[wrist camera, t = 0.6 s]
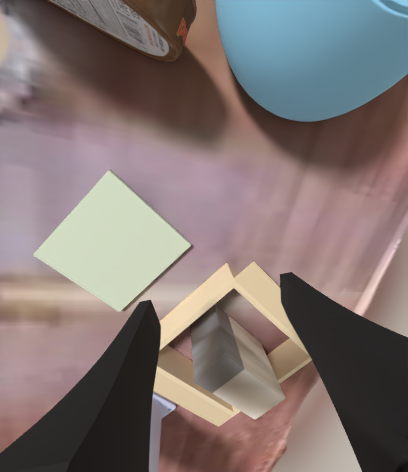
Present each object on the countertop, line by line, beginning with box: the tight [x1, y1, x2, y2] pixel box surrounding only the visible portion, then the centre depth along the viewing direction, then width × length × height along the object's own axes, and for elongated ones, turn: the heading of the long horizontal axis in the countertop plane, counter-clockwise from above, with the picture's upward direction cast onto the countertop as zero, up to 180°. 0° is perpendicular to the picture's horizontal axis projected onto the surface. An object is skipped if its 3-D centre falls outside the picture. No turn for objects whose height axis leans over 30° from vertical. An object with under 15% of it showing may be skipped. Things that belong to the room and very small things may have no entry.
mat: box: [33, 170, 191, 312], centre depth 21 cm, size 11×10×1 cm
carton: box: [153, 261, 312, 427], centre depth 25 cm, size 18×15×4 cm
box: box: [190, 304, 285, 419], centre depth 24 cm, size 4×9×7 cm, turn 44°
